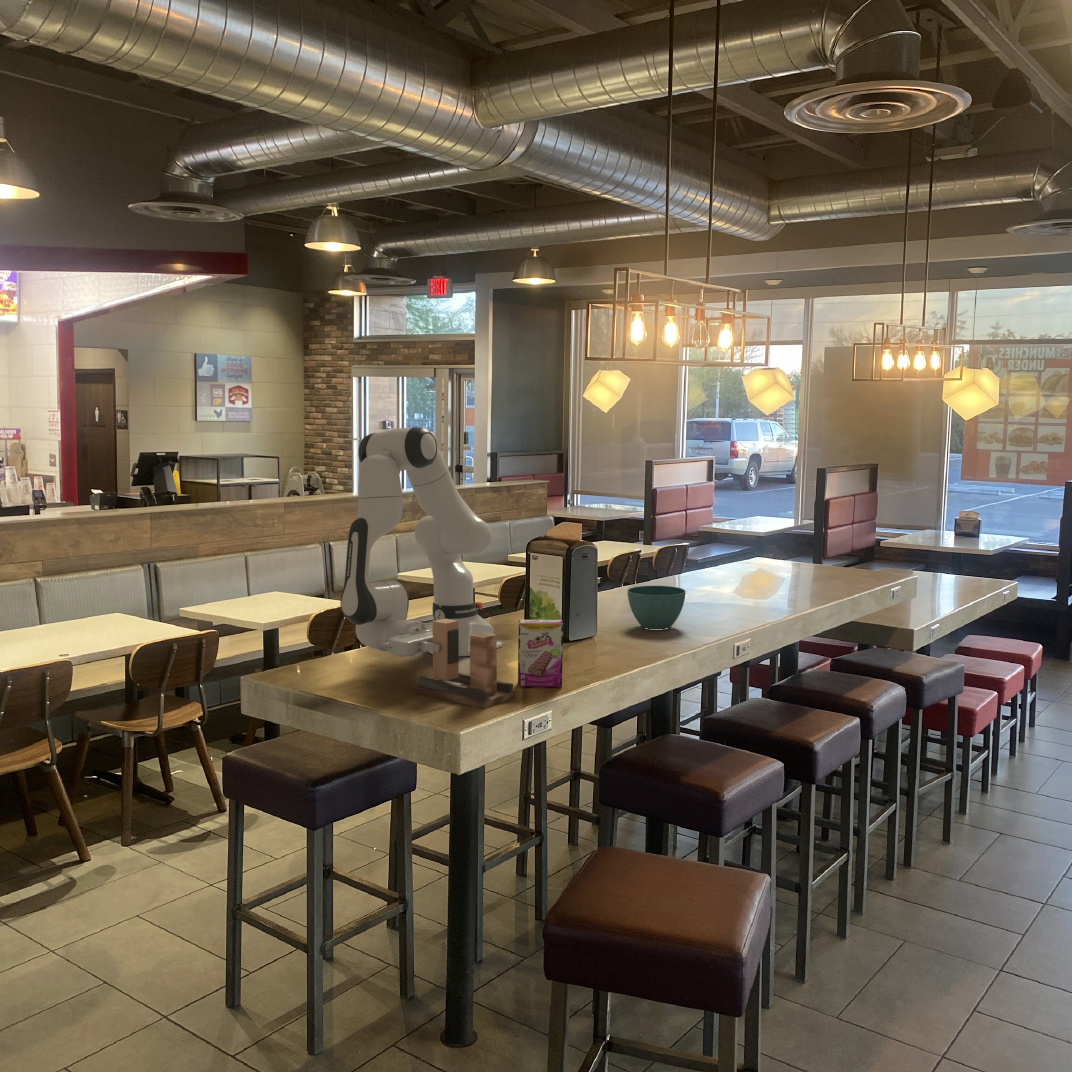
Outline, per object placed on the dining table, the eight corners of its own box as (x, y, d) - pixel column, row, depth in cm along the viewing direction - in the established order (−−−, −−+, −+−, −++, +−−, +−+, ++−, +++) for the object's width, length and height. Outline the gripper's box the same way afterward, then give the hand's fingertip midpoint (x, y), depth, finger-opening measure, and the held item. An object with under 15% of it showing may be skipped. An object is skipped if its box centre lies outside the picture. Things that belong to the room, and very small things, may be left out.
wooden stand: (448, 682, 256) (447, 622, 254) (516, 697, 243) (515, 633, 241) (414, 692, 247) (413, 629, 245) (483, 708, 233) (482, 642, 231)
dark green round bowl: (666, 636, 310) (667, 597, 309) (616, 629, 321) (616, 590, 320) (695, 627, 325) (695, 589, 323) (645, 620, 336) (646, 583, 334)
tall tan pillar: (445, 674, 251) (445, 618, 249) (460, 677, 248) (460, 621, 246) (432, 677, 247) (432, 621, 246) (448, 681, 244) (447, 623, 243)
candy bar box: (517, 688, 251) (517, 623, 249) (517, 683, 256) (517, 619, 254) (563, 688, 251) (563, 622, 249) (562, 683, 256) (562, 618, 254)
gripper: (377, 632, 246) (417, 640, 238) (435, 619, 262) (475, 626, 254) (377, 657, 247) (418, 666, 239) (435, 643, 263) (475, 651, 255)
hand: (448, 645), depth 246 cm, fingers closed on tall tan pillar, 4 cm apart
